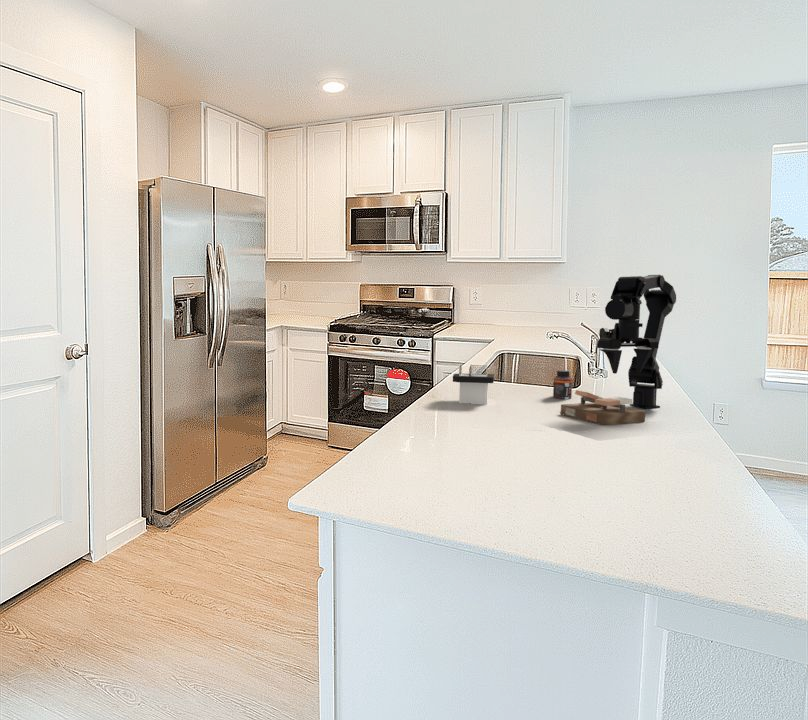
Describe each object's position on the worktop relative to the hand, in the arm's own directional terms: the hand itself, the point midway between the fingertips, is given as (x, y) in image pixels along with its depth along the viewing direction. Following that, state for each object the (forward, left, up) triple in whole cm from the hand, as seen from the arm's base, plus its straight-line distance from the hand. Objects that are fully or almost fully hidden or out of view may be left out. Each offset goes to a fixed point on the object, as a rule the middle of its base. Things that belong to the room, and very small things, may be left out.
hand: (626, 373), depth 172 cm
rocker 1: (+8, -5, -8) cm, 13 cm away
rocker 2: (+8, +4, -8) cm, 12 cm away
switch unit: (+8, -1, -13) cm, 15 cm away
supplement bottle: (+2, -26, -13) cm, 29 cm away
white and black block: (+32, -33, -13) cm, 48 cm away
